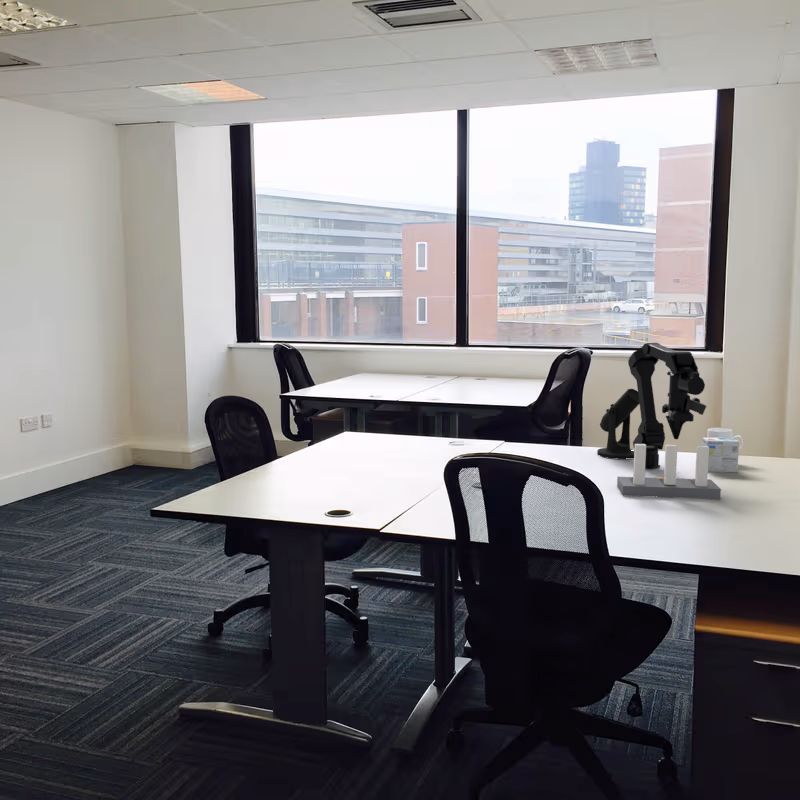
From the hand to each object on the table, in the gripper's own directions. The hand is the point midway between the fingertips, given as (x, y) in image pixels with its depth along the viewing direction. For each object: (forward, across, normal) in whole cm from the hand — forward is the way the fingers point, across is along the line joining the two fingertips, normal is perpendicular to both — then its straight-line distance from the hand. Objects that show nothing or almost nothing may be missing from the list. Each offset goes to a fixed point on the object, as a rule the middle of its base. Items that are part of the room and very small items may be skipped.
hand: (676, 439), depth 269 cm
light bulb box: (+13, +15, -18) cm, 27 cm away
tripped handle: (+10, -21, +6) cm, 24 cm away
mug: (+13, +28, -23) cm, 39 cm away
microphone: (+13, +35, +13) cm, 40 cm away
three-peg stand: (+13, -18, +6) cm, 23 cm away
